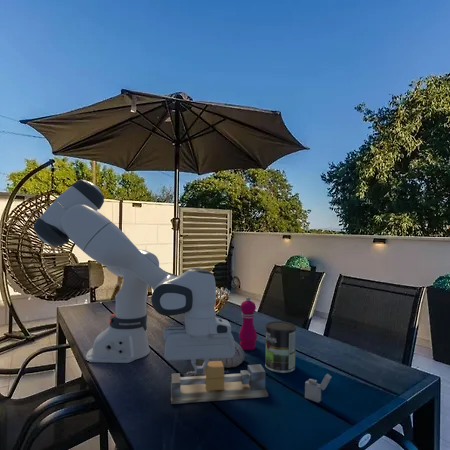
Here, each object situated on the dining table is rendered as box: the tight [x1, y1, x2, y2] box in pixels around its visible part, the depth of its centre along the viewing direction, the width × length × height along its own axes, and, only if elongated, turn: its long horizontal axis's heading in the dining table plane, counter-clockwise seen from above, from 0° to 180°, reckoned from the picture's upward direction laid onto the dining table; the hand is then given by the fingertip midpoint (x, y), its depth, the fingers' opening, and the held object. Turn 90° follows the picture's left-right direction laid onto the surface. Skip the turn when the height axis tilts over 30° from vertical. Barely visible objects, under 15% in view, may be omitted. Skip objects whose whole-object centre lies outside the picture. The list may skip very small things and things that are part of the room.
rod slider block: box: [170, 363, 269, 405], centre depth 96 cm, size 27×10×6 cm, turn 99°
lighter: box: [304, 373, 332, 404], centre depth 91 cm, size 7×2×8 cm, turn 51°
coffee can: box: [264, 320, 297, 374], centre depth 113 cm, size 10×10×14 cm
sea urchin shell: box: [209, 340, 246, 369], centre depth 116 cm, size 13×14×8 cm
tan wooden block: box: [204, 361, 225, 391], centre depth 96 cm, size 5×5×6 cm
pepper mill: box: [238, 296, 258, 351], centre depth 131 cm, size 7×7×20 cm
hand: (199, 373), depth 95 cm, fingers closed
